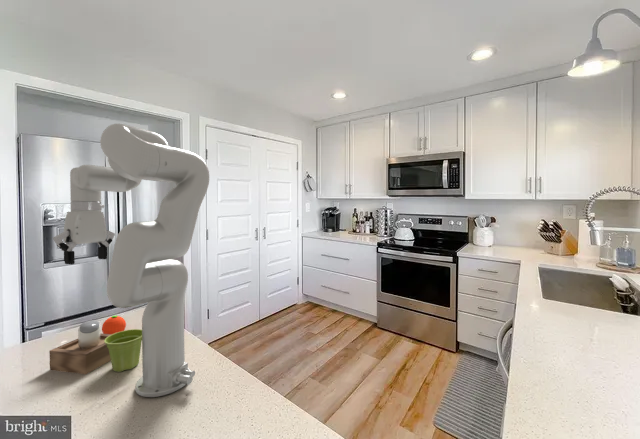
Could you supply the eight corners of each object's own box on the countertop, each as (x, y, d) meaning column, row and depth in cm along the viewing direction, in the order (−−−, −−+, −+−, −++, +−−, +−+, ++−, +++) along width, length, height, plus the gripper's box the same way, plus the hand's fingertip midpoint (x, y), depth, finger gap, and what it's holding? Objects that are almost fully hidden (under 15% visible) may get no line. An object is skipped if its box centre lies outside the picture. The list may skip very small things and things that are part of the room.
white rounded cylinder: (100, 334, 86) (101, 318, 85) (99, 346, 83) (100, 329, 81) (79, 338, 84) (79, 321, 82) (77, 350, 80) (77, 333, 78)
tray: (124, 354, 88) (124, 335, 88) (86, 375, 76) (85, 354, 76) (92, 350, 90) (91, 332, 90) (49, 371, 78) (49, 350, 78)
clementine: (104, 333, 103) (104, 313, 102) (127, 329, 106) (127, 310, 106) (99, 342, 95) (99, 321, 95) (124, 337, 99) (124, 317, 99)
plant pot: (125, 377, 75) (124, 344, 74) (95, 373, 77) (95, 341, 76) (153, 359, 84) (152, 330, 84) (126, 356, 86) (125, 327, 86)
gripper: (105, 207, 99) (105, 256, 100) (45, 206, 83) (45, 265, 83) (121, 208, 97) (121, 258, 97) (62, 207, 80) (63, 267, 81)
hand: (86, 261), depth 90 cm, fingers open, 9 cm apart
